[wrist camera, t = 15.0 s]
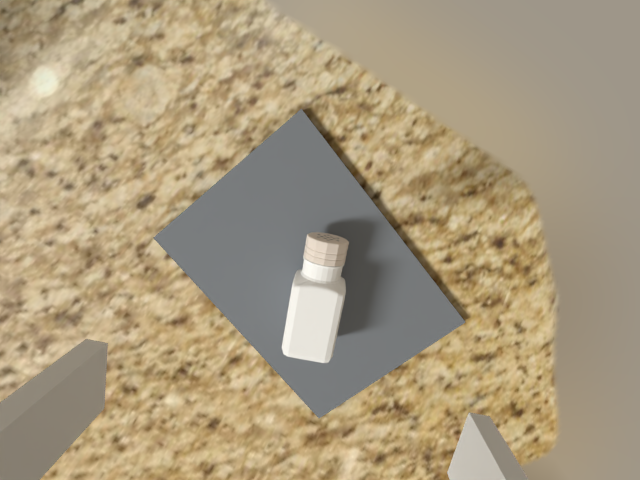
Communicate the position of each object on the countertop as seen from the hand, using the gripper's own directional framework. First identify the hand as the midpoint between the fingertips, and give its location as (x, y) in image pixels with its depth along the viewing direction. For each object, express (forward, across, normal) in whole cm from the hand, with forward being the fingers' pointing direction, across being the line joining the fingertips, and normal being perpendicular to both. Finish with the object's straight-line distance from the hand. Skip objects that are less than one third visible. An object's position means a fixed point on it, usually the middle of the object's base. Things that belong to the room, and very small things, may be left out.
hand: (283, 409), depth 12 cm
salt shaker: (+14, +1, -6) cm, 16 cm away
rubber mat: (+17, 0, -1) cm, 17 cm away
